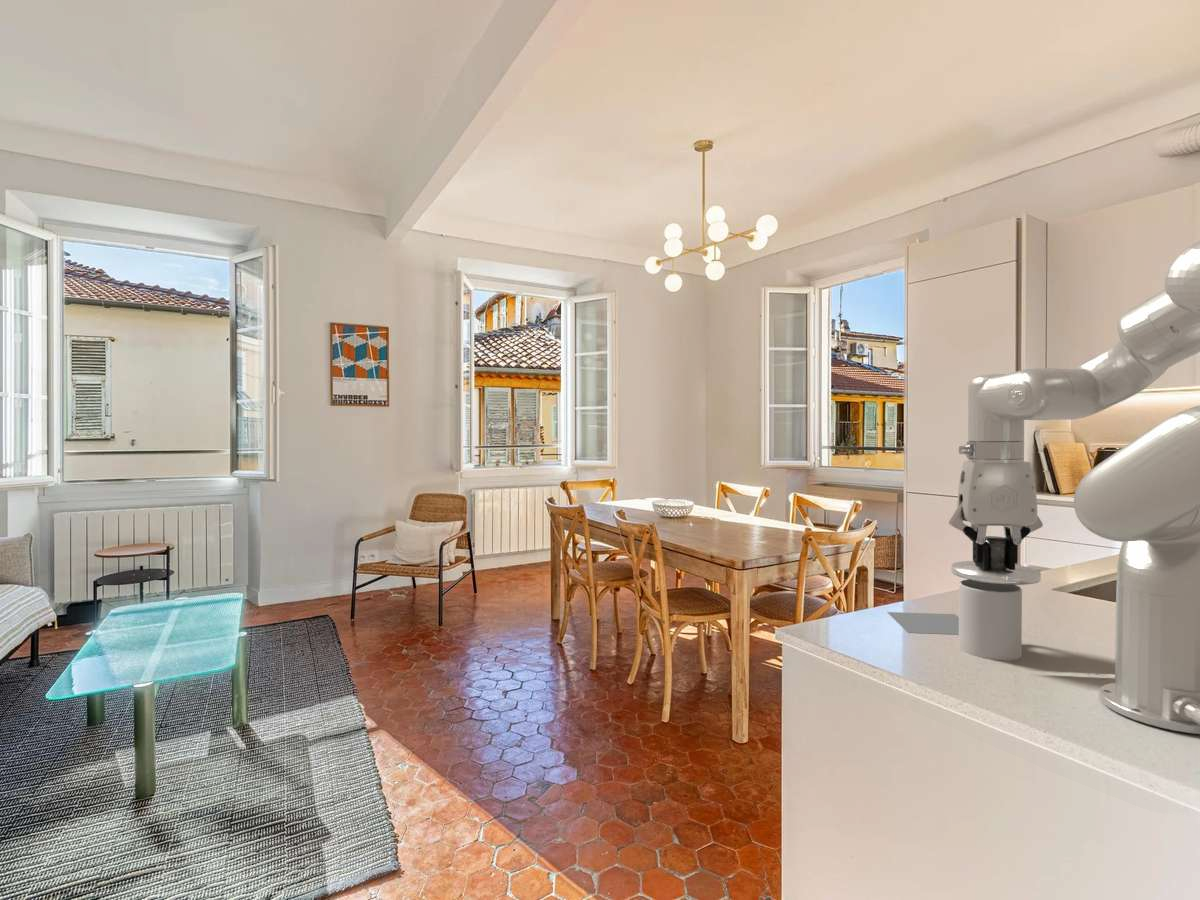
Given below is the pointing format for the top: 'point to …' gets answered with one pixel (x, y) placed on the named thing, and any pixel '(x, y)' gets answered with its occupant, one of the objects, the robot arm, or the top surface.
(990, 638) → the mug
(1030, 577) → the lid
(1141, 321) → the robot arm
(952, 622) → the mat
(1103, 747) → the top surface
